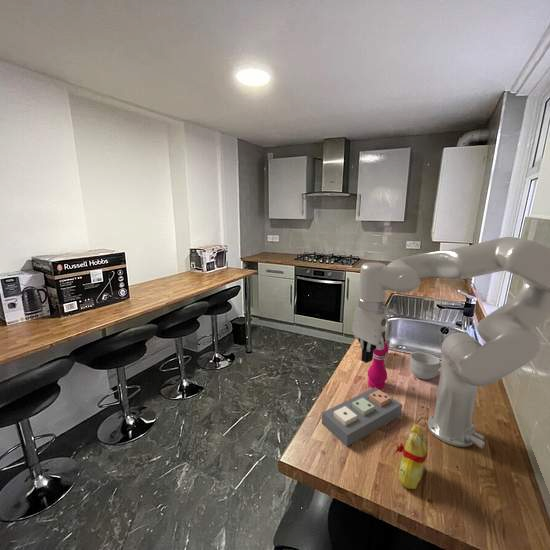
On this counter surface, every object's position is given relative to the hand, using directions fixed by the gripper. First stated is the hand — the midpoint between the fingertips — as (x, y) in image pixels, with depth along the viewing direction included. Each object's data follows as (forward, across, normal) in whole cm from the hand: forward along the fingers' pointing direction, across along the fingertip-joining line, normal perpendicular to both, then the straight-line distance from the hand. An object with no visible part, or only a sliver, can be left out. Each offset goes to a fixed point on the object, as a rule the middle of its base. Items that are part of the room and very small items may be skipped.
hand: (366, 360), depth 90 cm
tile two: (+19, 0, 0) cm, 19 cm away
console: (+21, 0, 0) cm, 21 cm away
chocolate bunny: (+21, -20, +5) cm, 30 cm away
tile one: (+19, 0, +8) cm, 21 cm away
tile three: (+19, 0, -8) cm, 21 cm away
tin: (+21, +22, -37) cm, 48 cm away
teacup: (+21, +3, -41) cm, 46 cm away
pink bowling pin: (+21, +10, -19) cm, 30 cm away
